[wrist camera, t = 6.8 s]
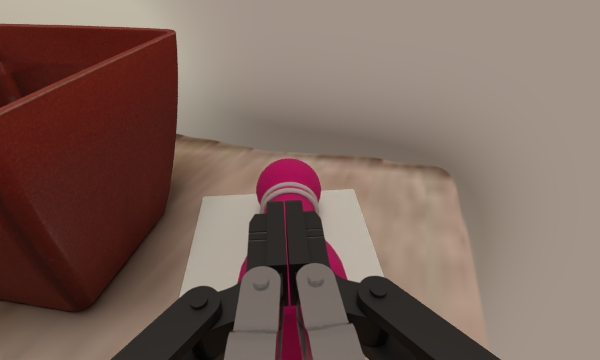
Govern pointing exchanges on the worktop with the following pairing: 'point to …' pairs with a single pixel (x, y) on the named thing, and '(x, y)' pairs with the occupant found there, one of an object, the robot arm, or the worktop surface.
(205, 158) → the worktop surface
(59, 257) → the plant pot
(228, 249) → the mat
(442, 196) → the worktop surface
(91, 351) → the worktop surface
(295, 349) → the pepper mill
